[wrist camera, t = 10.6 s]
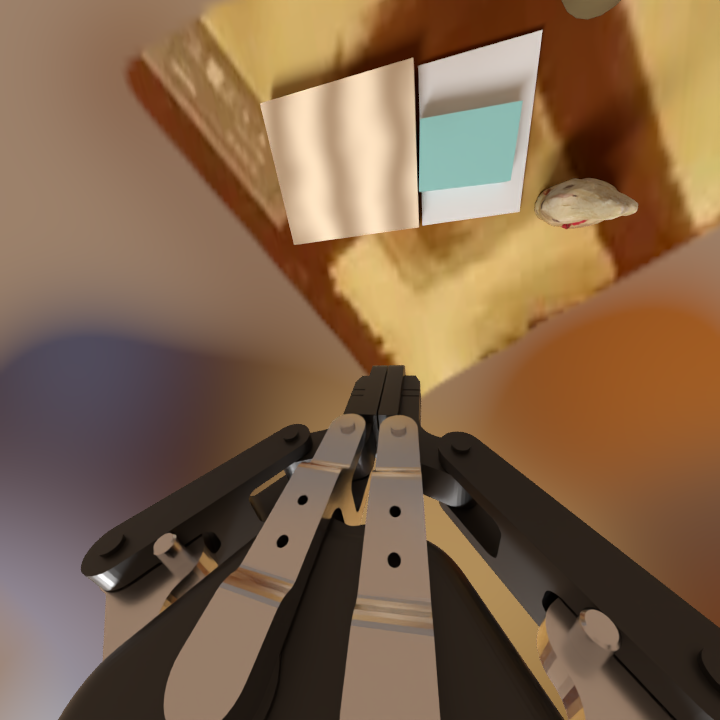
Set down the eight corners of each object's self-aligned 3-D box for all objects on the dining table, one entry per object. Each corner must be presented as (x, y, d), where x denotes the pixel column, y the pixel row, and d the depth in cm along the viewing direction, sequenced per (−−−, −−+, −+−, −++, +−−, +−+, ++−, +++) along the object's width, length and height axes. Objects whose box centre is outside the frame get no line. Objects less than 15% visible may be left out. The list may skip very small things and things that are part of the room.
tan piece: (562, 155, 27) (623, 134, 19) (621, 198, 28) (706, 195, 20) (520, 209, 30) (556, 212, 22) (574, 247, 31) (630, 263, 22)
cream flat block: (414, 69, 26) (413, 57, 24) (419, 225, 33) (418, 227, 31) (271, 110, 30) (259, 103, 28) (301, 242, 37) (294, 244, 35)
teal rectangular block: (514, 108, 26) (522, 100, 24) (504, 182, 29) (510, 180, 27) (420, 125, 28) (419, 118, 26) (419, 192, 31) (418, 191, 29)
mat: (540, 32, 24) (542, 29, 23) (518, 211, 30) (519, 211, 30) (418, 67, 26) (418, 65, 26) (422, 225, 33) (422, 225, 33)
